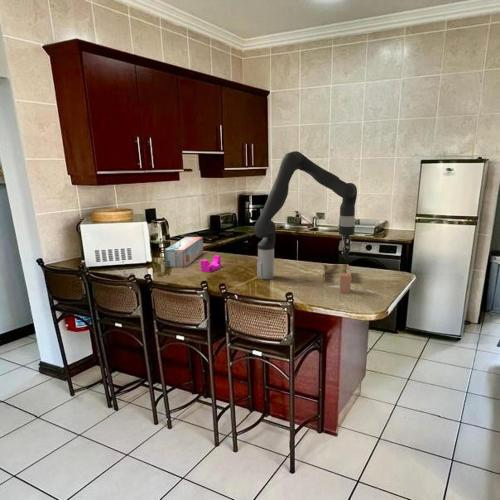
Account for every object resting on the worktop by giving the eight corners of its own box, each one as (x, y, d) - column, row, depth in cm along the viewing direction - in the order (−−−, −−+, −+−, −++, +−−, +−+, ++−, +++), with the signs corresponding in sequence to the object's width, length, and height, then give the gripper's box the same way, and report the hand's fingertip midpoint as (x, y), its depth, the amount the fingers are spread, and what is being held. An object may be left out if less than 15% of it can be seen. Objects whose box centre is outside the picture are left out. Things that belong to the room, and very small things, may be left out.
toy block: (208, 273, 235) (208, 261, 233) (201, 272, 238) (200, 260, 236) (223, 267, 247) (223, 256, 245) (216, 266, 250) (215, 255, 248)
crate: (322, 282, 210) (322, 273, 209) (321, 272, 230) (322, 264, 228) (351, 283, 208) (351, 274, 207) (348, 272, 227) (348, 264, 226)
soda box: (186, 253, 289) (185, 236, 286) (204, 253, 287) (203, 236, 284) (165, 267, 250) (163, 248, 247) (185, 268, 248) (184, 248, 245)
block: (339, 293, 192) (340, 275, 189) (339, 289, 196) (339, 272, 194) (350, 293, 191) (350, 276, 189) (349, 289, 195) (349, 273, 193)
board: (344, 301, 182) (344, 299, 182) (322, 288, 200) (322, 287, 200) (368, 296, 187) (368, 295, 187) (344, 284, 205) (344, 283, 205)
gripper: (356, 227, 178) (354, 260, 182) (353, 222, 192) (351, 253, 196) (339, 227, 179) (338, 260, 183) (338, 222, 193) (337, 253, 197)
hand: (345, 256), depth 190 cm, fingers open, 8 cm apart
